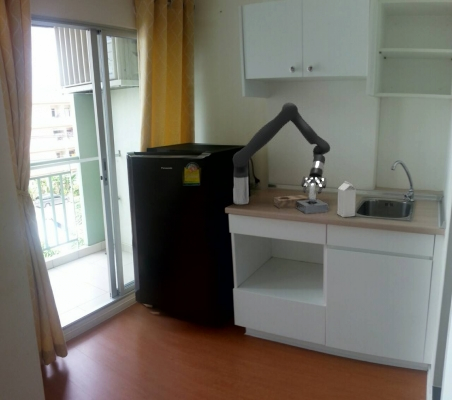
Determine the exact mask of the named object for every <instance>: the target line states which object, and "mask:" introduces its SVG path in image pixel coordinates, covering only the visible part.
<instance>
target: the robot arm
mask: <svg viewBox="0 0 452 400" xmlns="http://www.w3.org/2000/svg"><path fill="white" fill-rule="evenodd" d="M289 122H291V123H293V125H294V126H295V127H296V128H297V129H298V131H299V133H300V134H301V135H302V136H303V138H304V139H305V140H306V141H307V142H308V144H309V145H315V146H314V148H313V150H312V154H313V155H312V157H313V160H312V163H311V166H310V169H309V170H310V171H309V176H307V177H306V176H303V177H302V180H301V183H300V185H301V187H302V191H303V193H304V194H306V193H307V189H308V188H309V183H316V186H318V190H317V192H318V193H317V194H318V195H320V194H322V191H323V189H326V187H327V177H324V178H323V173H324V169H325V167H324V166H325V163H326V157H325V155H326V154H328V153H329V152H330V150H331V146H330V143H328V141H326V140H325V139H323V138H322V137H320V135H318V133H317V132H316V131H315V130H314V129H313V127H311V126H310V124H308V123H307V121H306V120H305V119H304V118H303V117H302V115H301V114H300V113H299V109H298V107H297V105H296V104H295V103H293V102H285V103H284V104H283V105H282V107H281V111H279V113H278V114H277V115H276V116H275V117H274V118H273V119H272V120H270V121H268V122H267V123H266V124H264V125H263V126H262V127H261V128H260V129H259V130H258V131H257V132H256V133H255V134H254V135H253V136H252V138H251V139H249V141H248V143H247V144H246V145H245V146H244V147H243V148H241V149H240V150H239V151H237V152H236V153H234V154H233V158H232V163H233V189H232V193H233V194H232V195H233V197H232V198H233V204H235V205H247V204H249V160H250V159H251V158H252V157H253V156H255V154H256V153H257V152H259V151H260V150H261V149H263V148H264V147H265V146H267V144H268V143H269V142H270V141H271V140H272V139H273V138H274V137H275V136H276V135H277V134H278V133H279V132H280V131H281V129H282V128H284V126H285V125H287V124H288V123H289ZM321 182H322V184H321Z"/></svg>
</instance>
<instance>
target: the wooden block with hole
mask: <svg viewBox="0 0 452 400" xmlns="http://www.w3.org/2000/svg"><path fill="white" fill-rule="evenodd" d="M301 200H309V196H307V195H305V194H300V195H299V194H298V195H285V196H284V195H283V196H273V206H275V207H276V208H277V209H279V210H281V209H292V208H296V201H301Z"/></svg>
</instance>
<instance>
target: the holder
mask: <svg viewBox="0 0 452 400" xmlns="http://www.w3.org/2000/svg"><path fill="white" fill-rule="evenodd" d="M295 209H297V210H299V211H300V212H302V213H303V214H305V215H309V214H319V213H328V212H329V204H328V203H327V202H325V201H322V200H321V199H319V198H317V199H316V204H309V200H301V201H296V207H295Z"/></svg>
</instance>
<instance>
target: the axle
mask: <svg viewBox="0 0 452 400" xmlns="http://www.w3.org/2000/svg"><path fill="white" fill-rule="evenodd" d="M316 195H317V185H316V183H309V186H308V197H309V204H316V198H317V196H316Z"/></svg>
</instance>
